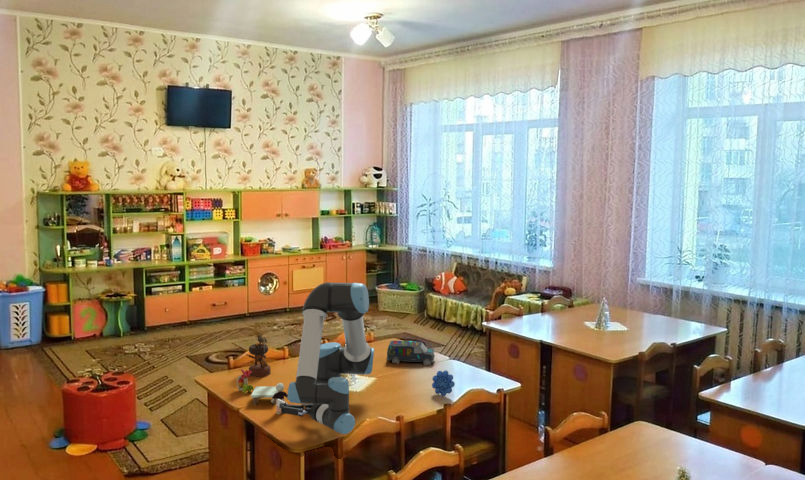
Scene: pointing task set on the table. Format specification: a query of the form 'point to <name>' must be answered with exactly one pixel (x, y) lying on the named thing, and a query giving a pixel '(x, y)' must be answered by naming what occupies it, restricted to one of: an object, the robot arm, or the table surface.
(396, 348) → the toy van
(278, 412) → the grandmother figurine
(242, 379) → the flower ornament
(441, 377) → the blue bumpy round piece
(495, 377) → the table surface
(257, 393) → the miniature table
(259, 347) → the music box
